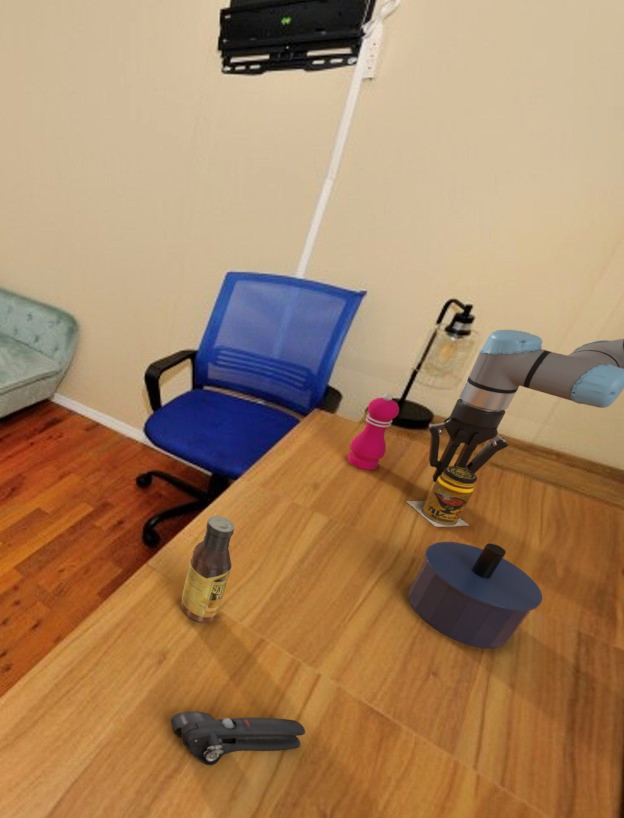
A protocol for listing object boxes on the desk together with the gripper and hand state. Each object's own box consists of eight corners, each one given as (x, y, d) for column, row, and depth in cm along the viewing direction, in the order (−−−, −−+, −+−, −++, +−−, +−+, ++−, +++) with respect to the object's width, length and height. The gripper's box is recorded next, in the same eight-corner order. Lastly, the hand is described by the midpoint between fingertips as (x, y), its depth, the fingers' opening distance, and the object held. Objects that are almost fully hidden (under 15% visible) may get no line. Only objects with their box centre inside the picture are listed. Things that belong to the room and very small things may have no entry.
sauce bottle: (209, 631, 87) (233, 545, 78) (174, 611, 90) (193, 526, 81) (222, 607, 91) (247, 523, 82) (189, 589, 95) (208, 506, 86)
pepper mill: (374, 474, 125) (403, 404, 116) (341, 462, 130) (366, 393, 120) (382, 463, 129) (411, 394, 120) (350, 451, 134) (375, 384, 125)
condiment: (436, 527, 108) (459, 482, 103) (405, 502, 116) (425, 458, 110) (469, 526, 108) (494, 481, 103) (436, 500, 116) (457, 457, 110)
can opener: (182, 772, 68) (189, 749, 65) (165, 719, 74) (171, 695, 71) (314, 770, 68) (326, 747, 65) (286, 717, 74) (296, 694, 71)
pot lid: (533, 571, 86) (552, 542, 83) (545, 631, 76) (567, 600, 73) (424, 534, 94) (438, 507, 91) (422, 583, 84) (438, 554, 81)
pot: (505, 608, 90) (531, 569, 85) (512, 664, 80) (542, 624, 76) (409, 572, 97) (429, 534, 93) (406, 619, 88) (427, 580, 84)
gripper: (520, 404, 104) (471, 495, 114) (439, 389, 110) (400, 476, 121) (529, 420, 98) (477, 514, 109) (443, 403, 105) (402, 493, 115)
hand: (436, 494), depth 115 cm, fingers closed
